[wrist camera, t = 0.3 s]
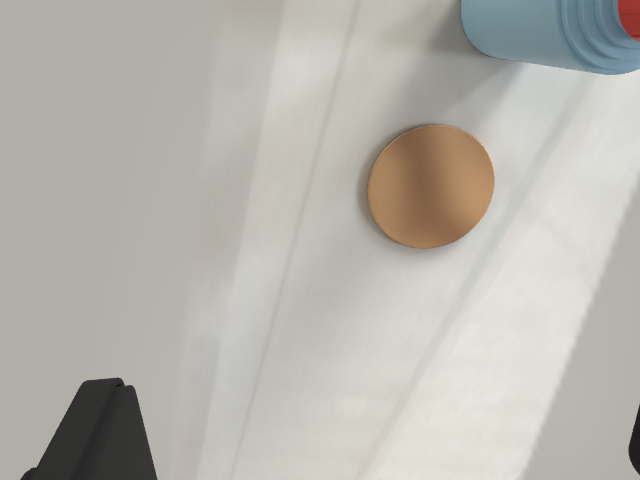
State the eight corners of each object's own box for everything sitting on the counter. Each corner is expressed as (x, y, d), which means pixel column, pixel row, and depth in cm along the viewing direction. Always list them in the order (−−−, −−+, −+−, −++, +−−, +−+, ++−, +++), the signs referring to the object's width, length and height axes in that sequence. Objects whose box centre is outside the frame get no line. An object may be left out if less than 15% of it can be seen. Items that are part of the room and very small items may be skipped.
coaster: (444, 95, 37) (447, 96, 37) (515, 192, 41) (518, 194, 40) (341, 183, 39) (342, 185, 39) (416, 268, 43) (418, 271, 42)
